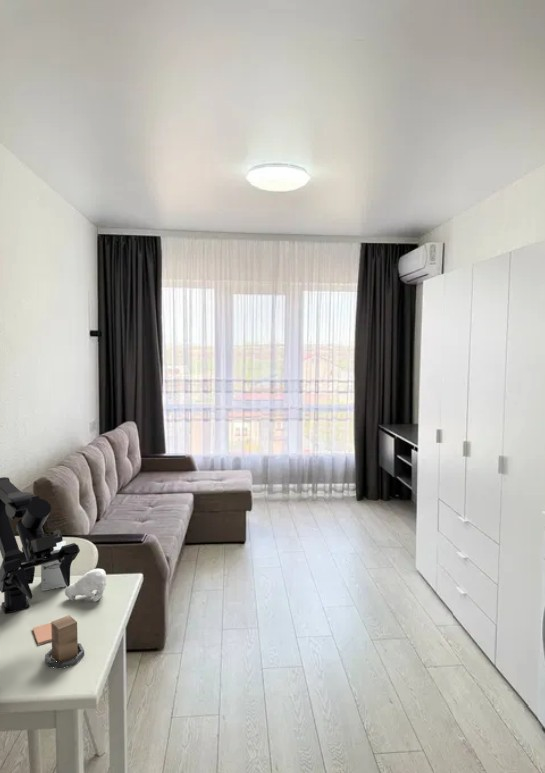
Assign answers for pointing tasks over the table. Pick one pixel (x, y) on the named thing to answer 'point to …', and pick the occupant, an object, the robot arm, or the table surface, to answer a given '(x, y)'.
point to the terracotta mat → (43, 633)
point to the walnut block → (64, 639)
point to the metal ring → (65, 663)
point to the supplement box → (52, 572)
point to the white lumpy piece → (88, 585)
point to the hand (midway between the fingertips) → (50, 592)
